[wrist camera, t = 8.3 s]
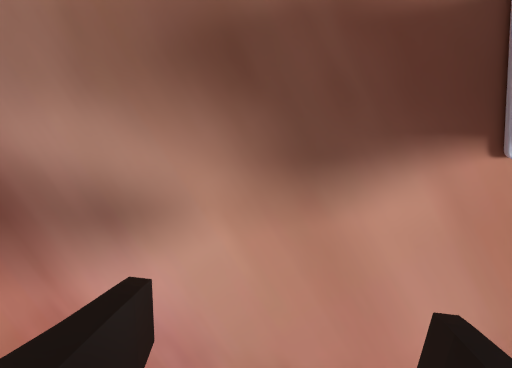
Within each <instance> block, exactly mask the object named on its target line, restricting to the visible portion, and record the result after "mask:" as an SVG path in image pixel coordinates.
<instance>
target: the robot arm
mask: <svg viewBox="0 0 512 368" xmlns="http://www.w3.org/2000/svg"><path fill="white" fill-rule="evenodd" d="M504 153H505V155H506V156H507V157H509V158H511V159H512V0H511V20H510V39H509V59H508V79H507V99H506V119H505V139H504ZM153 343H154V321H153V298H152V279H145V278H136V277H128V278H126V279H125V280H123V281H122V282H120V283H119V284H117V285H116V286H114V287H112V288H111V289H110V290H108V291H107V292H105V293H104V294H102V295H101V296H99V297H98V298H96V299H95V300H93V301H92V302H90V303H89V304H87V305H86V306H84V307H83V308H81V309H80V310H78V311H77V312H75V313H74V314H72V315H70V316H69V317H67V318H66V319H64V320H63V321H61V322H60V323H58V324H57V325H55V326H54V327H52V328H50V329H49V330H47V331H45V332H44V333H42V334H40V335H39V336H37V337H35V338H34V339H32V340H31V341H29V342H27V343H26V344H24V345H22V346H21V347H19V348H17V349H16V350H14V351H12V352H11V353H9V354H7V355H6V356H4V357H2V358H0V368H144V367H145V365H146V362H147V359H148V357H149V354H150V351H151V349H152V346H153ZM417 368H512V358H511V357H509V356H508V355H507V354H506V353H505V352H503V351H502V350H501V349H500V348H499V347H498V346H496V345H495V344H494V343H493V342H492V341H490V340H489V339H488V338H487V337H485V336H484V335H483V334H482V333H481V332H479V331H478V330H477V329H476V328H474V327H473V326H472V325H471V324H469V323H468V322H467V321H466V320H464V319H463V318H462V317H460V316H459V315H450V314H442V313H433V315H432V319H431V322H430V326H429V329H428V332H427V336H426V339H425V343H424V346H423V349H422V353H421V356H420V359H419V363H418V366H417Z"/></svg>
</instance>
